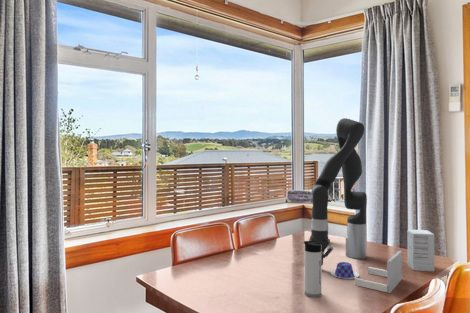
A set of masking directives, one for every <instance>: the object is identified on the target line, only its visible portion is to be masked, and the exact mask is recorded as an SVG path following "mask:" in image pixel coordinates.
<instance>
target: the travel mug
mask: <svg viewBox="0 0 470 313" xmlns="http://www.w3.org/2000/svg"><path fill="white" fill-rule="evenodd" d="M303 244H304V295H305V296H307V297H311V298H319V297H321V296H322V266H321V244H320V243H318V242H313V241H309V240H305V241H303Z"/></svg>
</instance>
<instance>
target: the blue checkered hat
mask: <svg viewBox="0 0 470 313" xmlns="http://www.w3.org/2000/svg"><path fill="white" fill-rule="evenodd" d="M329 274H330V275H331V276H333V277H335V278H339V279H345V280H351V279H352V280H353V279H354V280H355V278H359V276H360V274H359V273H358V272H356V271H354V270H353V266H352V264H351V263H349V262H347V261H340V262H337V264H336V268H335V269H333V270H330V273H329ZM354 276H355V277H354Z"/></svg>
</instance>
